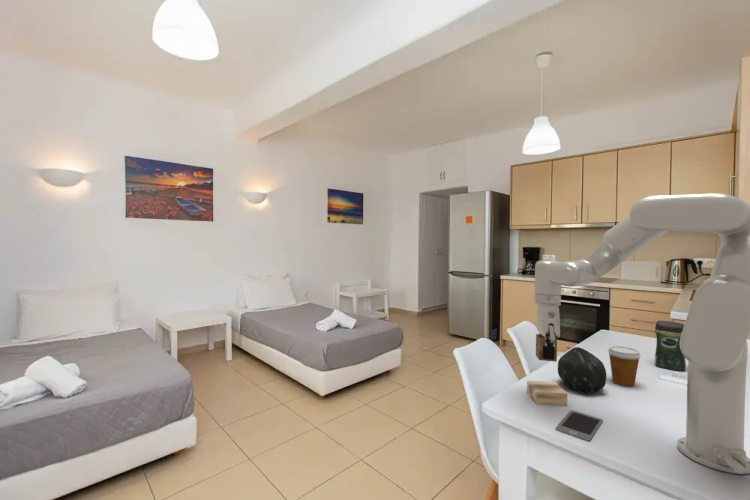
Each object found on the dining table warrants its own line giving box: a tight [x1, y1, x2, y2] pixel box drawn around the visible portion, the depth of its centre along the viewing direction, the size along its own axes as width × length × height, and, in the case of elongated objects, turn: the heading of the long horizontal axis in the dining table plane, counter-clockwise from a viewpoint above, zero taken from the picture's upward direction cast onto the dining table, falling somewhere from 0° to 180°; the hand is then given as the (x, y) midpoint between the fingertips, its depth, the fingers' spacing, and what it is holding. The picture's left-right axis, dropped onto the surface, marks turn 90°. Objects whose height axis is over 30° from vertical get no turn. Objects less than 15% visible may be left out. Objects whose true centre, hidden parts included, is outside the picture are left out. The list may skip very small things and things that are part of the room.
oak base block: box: [526, 380, 568, 407], centre depth 110 cm, size 9×9×4 cm
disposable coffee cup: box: [607, 345, 641, 388], centre depth 122 cm, size 10×10×12 cm
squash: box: [557, 346, 607, 393], centre depth 118 cm, size 14×15×15 cm
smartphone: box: [554, 409, 604, 443], centre depth 93 cm, size 15×8×1 cm, turn 135°
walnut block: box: [535, 333, 558, 363], centre depth 110 cm, size 5×5×7 cm
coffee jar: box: [654, 320, 687, 372], centre depth 139 cm, size 10×8×19 cm
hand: (546, 355), depth 110 cm, fingers closed on walnut block, 5 cm apart
